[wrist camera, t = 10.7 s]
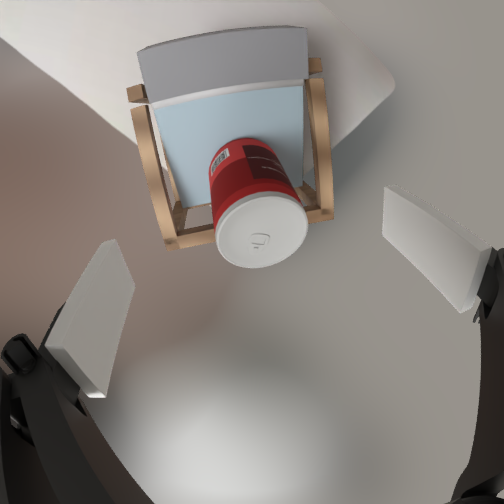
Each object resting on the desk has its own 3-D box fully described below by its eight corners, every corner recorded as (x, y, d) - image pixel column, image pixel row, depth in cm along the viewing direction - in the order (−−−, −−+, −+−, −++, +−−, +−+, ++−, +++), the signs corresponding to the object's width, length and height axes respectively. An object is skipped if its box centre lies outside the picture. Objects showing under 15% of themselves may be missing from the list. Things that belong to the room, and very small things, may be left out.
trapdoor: (145, 47, 20) (133, 53, 17) (289, 25, 21) (310, 28, 17) (183, 191, 35) (182, 222, 31) (294, 171, 36) (309, 198, 32)
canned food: (210, 200, 32) (219, 274, 25) (205, 138, 26) (211, 201, 19) (274, 194, 33) (301, 263, 26) (279, 133, 28) (316, 192, 20)
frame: (154, 94, 34) (126, 88, 21) (284, 73, 35) (320, 57, 22) (179, 206, 43) (167, 251, 30) (298, 184, 44) (333, 219, 31)
